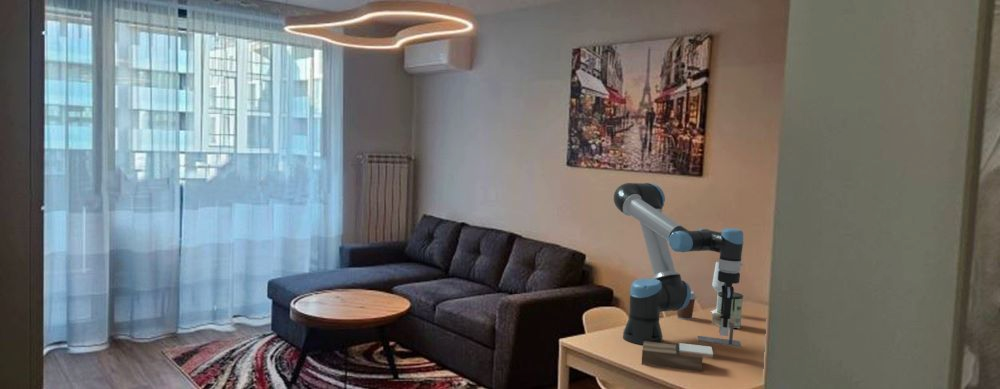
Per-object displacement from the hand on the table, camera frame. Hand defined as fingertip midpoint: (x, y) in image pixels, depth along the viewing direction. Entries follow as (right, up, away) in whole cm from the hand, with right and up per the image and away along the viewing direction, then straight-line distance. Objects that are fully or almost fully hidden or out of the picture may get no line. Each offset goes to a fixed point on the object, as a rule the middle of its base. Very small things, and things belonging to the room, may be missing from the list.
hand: (723, 333), depth 247 cm
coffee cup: (+1, -5, +56) cm, 56 cm away
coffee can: (+17, -6, +46) cm, 50 cm away
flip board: (-22, -8, -11) cm, 26 cm away
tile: (-14, -3, -13) cm, 20 cm away
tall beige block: (-2, -3, +1) cm, 3 cm away
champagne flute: (+20, -5, +69) cm, 72 cm away
